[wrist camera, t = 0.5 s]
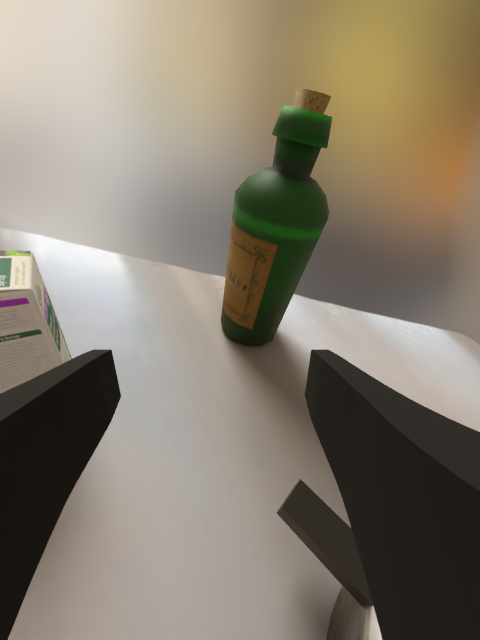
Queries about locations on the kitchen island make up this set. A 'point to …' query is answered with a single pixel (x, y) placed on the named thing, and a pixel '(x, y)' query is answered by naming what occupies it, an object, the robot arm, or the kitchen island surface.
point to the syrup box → (26, 322)
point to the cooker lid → (331, 549)
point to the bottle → (276, 224)
